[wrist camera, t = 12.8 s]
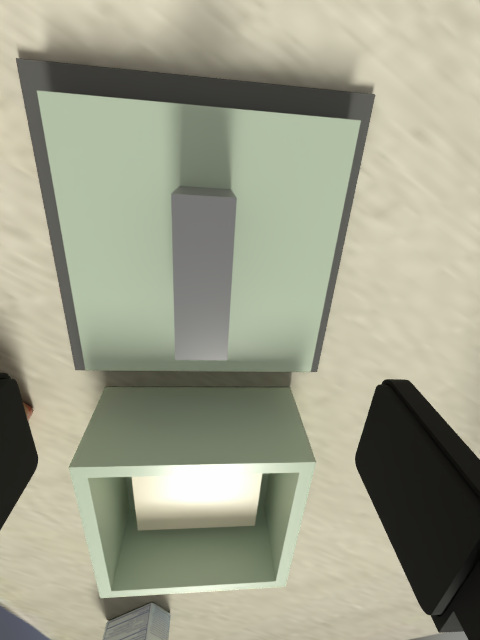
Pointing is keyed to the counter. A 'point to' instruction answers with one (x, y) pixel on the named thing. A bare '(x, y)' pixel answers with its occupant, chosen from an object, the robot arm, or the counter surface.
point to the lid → (196, 230)
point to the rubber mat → (180, 92)
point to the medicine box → (140, 625)
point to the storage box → (192, 488)
